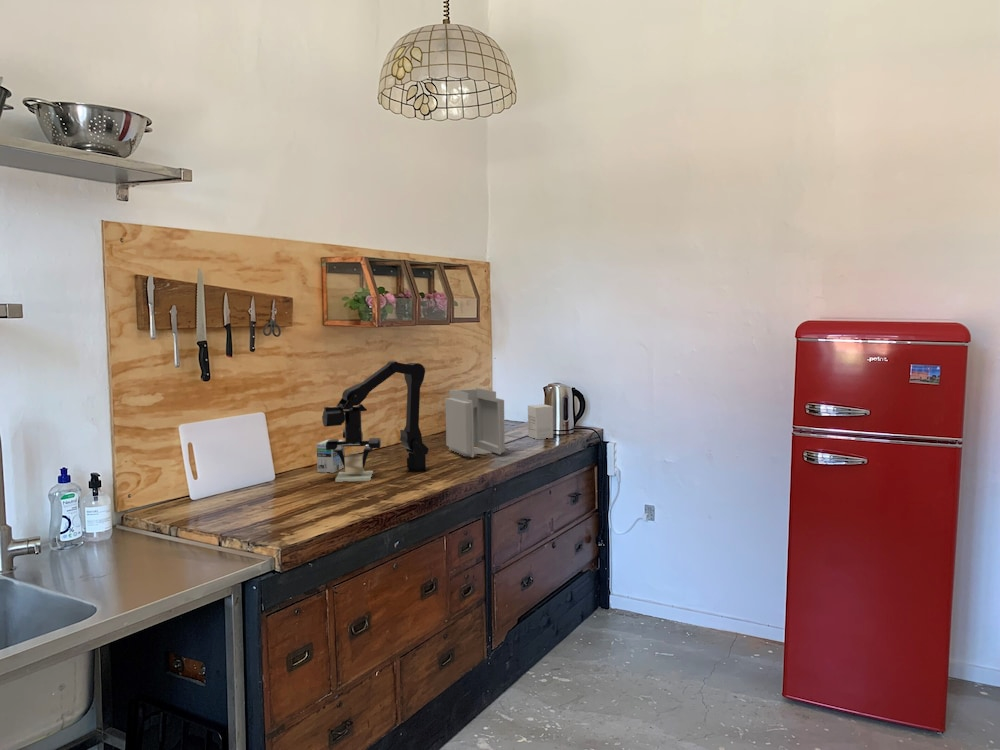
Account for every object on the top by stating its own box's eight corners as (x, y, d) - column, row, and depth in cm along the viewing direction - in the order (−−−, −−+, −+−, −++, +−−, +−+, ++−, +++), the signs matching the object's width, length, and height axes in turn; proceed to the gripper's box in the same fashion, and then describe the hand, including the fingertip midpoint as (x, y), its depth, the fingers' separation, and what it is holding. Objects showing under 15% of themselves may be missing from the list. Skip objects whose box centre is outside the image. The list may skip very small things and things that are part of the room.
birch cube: (363, 470, 264) (363, 453, 263) (362, 473, 258) (361, 456, 257) (346, 470, 263) (346, 454, 263) (345, 474, 257) (344, 457, 257)
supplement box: (544, 435, 347) (544, 404, 346) (553, 438, 339) (553, 406, 337) (527, 437, 343) (527, 405, 342) (536, 439, 335) (535, 407, 334)
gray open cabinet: (478, 446, 320) (477, 386, 318) (506, 456, 297) (505, 392, 295) (442, 449, 313) (440, 389, 311) (467, 460, 289) (466, 394, 287)
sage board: (373, 473, 267) (372, 470, 267) (370, 480, 255) (370, 477, 255) (339, 474, 266) (339, 471, 266) (335, 481, 254) (335, 479, 254)
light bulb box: (333, 473, 269) (332, 444, 268) (316, 472, 270) (315, 443, 269) (345, 467, 279) (344, 439, 278) (329, 466, 281) (328, 438, 280)
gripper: (381, 420, 268) (382, 462, 269) (329, 421, 266) (330, 464, 268) (379, 424, 257) (380, 468, 258) (325, 426, 255) (326, 470, 257)
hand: (354, 467), depth 261 cm, fingers closed on birch cube, 6 cm apart
